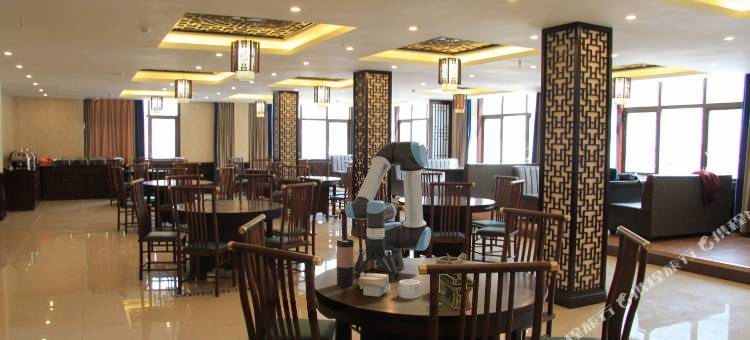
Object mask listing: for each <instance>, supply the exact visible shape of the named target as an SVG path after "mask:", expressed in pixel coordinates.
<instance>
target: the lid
mask: <svg viewBox="0 0 750 340" xmlns="http://www.w3.org/2000/svg"><path fill="white" fill-rule="evenodd" d="M387 275H388V273H375V272H374V273H373V272H367V273H364V275H363V276H362V277H360V278H359V279H358V286H370V287H380V288H384V287H385V286H387Z"/></svg>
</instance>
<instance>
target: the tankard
mask: <svg viewBox="0 0 750 340" xmlns="http://www.w3.org/2000/svg"><path fill="white" fill-rule="evenodd" d="M466 255H467V254H466V253H464V252H462V253H460V255H458V257H453V256H450V259H451V263H450V264H452V262H455V263H456V264H457V263H459V262H460V261H461V260H463V259H465V257H466ZM435 259H436V261H435V264H446V263H447V261H448V256H440V257H437V258H435ZM461 263H462V264H463V261H462V262H461ZM440 293H444V294H445V286H444V284H443V282H442V281H441V279H440Z"/></svg>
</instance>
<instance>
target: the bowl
mask: <svg viewBox="0 0 750 340" xmlns="http://www.w3.org/2000/svg"><path fill="white" fill-rule="evenodd" d="M398 295H399V296H398V297H399V298H401V299H406V300H416V299H419V298H420V297H421V281H420V280H418V279H410V278H408V279H401V280H399V281H398Z"/></svg>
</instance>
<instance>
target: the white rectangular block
mask: <svg viewBox="0 0 750 340" xmlns="http://www.w3.org/2000/svg"><path fill="white" fill-rule="evenodd" d="M386 292H388V291H387V286H385V287H384V288H380V287H370V286H363V296H370V297H379V298H380V297H381V296H383V294H385V293H386Z"/></svg>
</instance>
